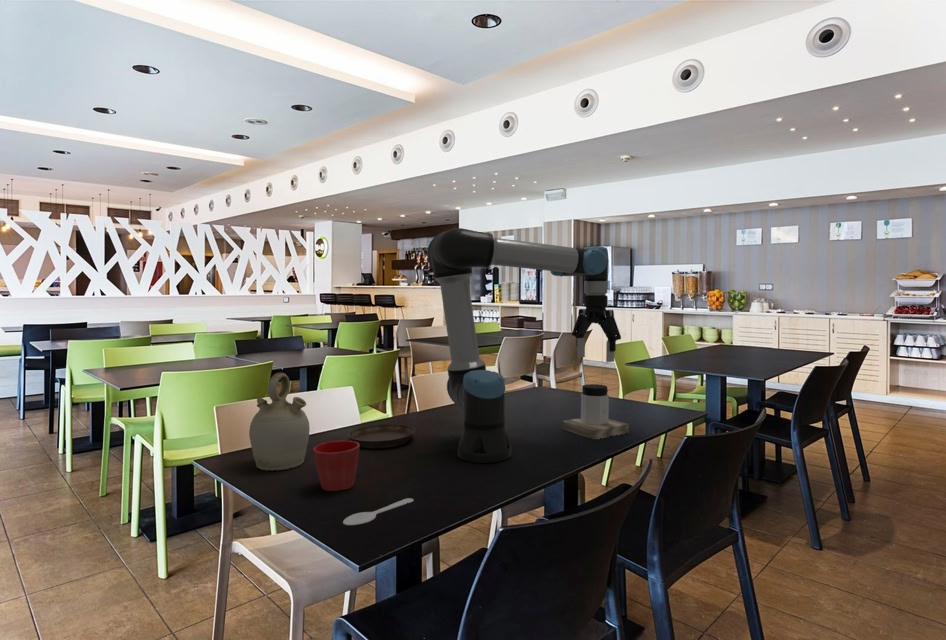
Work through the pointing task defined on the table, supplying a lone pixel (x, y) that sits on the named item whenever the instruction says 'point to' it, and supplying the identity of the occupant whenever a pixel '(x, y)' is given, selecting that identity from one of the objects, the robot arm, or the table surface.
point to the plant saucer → (381, 435)
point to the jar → (594, 404)
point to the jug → (279, 429)
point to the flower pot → (337, 464)
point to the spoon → (372, 513)
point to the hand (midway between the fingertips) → (595, 359)
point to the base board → (595, 428)
